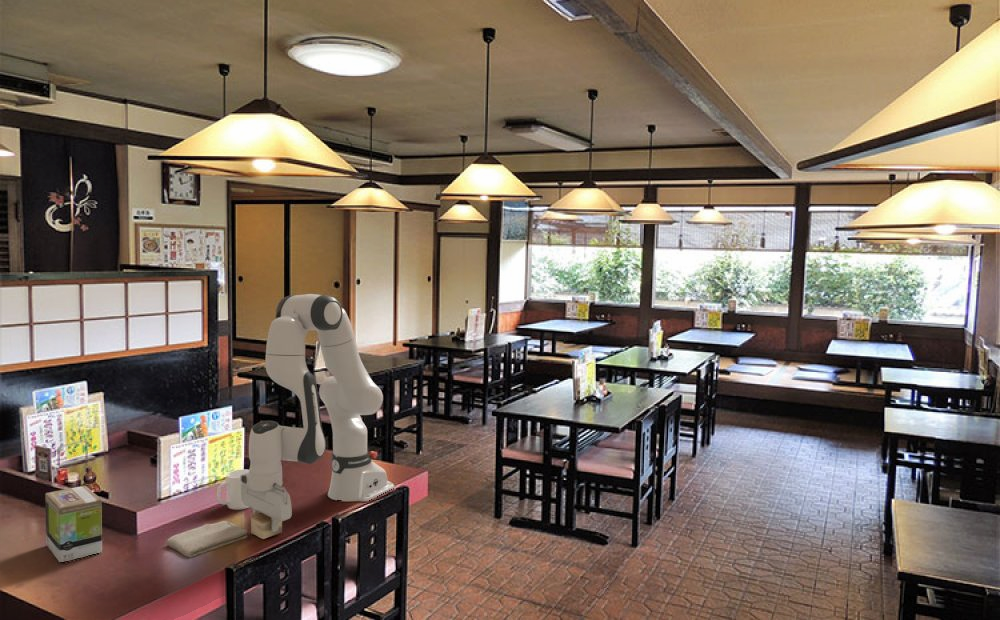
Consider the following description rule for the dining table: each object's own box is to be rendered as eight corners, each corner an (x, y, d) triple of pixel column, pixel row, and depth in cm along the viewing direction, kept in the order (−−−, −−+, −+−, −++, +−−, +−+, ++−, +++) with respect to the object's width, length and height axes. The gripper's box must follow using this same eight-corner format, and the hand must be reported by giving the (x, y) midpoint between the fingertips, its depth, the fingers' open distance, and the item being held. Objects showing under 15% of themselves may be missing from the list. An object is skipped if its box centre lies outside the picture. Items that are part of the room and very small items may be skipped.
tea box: (104, 553, 179) (102, 498, 177) (59, 565, 172) (57, 508, 170) (87, 535, 189) (86, 483, 188) (45, 545, 182) (43, 492, 181)
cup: (260, 504, 214) (260, 473, 213) (224, 515, 205) (223, 483, 204) (246, 498, 220) (245, 467, 219) (210, 508, 210) (210, 476, 209)
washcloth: (250, 538, 191) (250, 527, 191) (188, 561, 177) (188, 549, 176) (226, 527, 198) (226, 516, 198) (165, 547, 184) (165, 536, 184)
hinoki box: (270, 526, 197) (270, 509, 197) (282, 532, 193) (282, 515, 193) (250, 533, 192) (250, 515, 192) (262, 539, 188) (262, 521, 188)
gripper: (297, 485, 187) (297, 534, 188) (256, 468, 200) (257, 514, 201) (276, 492, 182) (277, 541, 184) (236, 474, 195) (237, 520, 196)
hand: (266, 527), depth 193 cm, fingers closed on hinoki box, 6 cm apart
